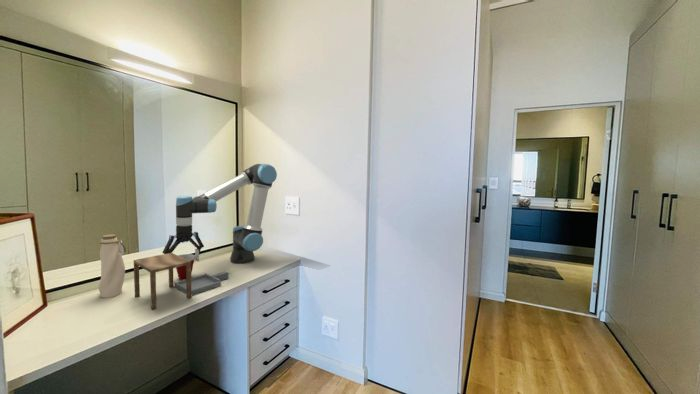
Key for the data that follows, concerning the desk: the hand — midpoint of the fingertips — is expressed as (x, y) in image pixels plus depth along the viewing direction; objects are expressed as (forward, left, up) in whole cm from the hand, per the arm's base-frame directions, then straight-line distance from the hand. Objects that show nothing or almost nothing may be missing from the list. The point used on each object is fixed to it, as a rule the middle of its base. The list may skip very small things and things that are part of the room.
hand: (184, 263), depth 156 cm
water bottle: (+30, -5, -9) cm, 31 cm away
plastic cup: (0, 0, -9) cm, 9 cm away
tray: (-3, +16, -8) cm, 18 cm away
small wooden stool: (+17, +16, -8) cm, 25 cm away
